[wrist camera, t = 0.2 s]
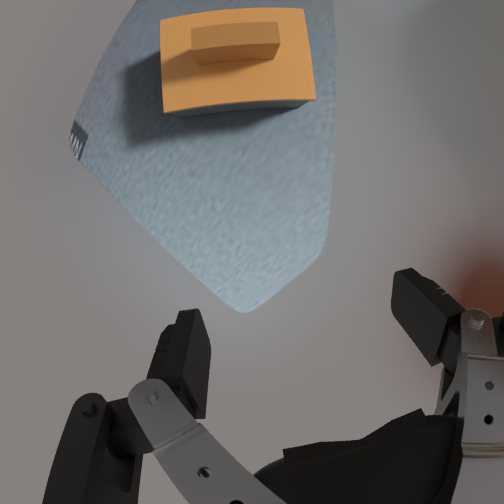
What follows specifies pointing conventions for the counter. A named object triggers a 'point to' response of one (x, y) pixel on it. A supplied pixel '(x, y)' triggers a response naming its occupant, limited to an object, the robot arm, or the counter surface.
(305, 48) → the lid
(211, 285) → the counter surface
